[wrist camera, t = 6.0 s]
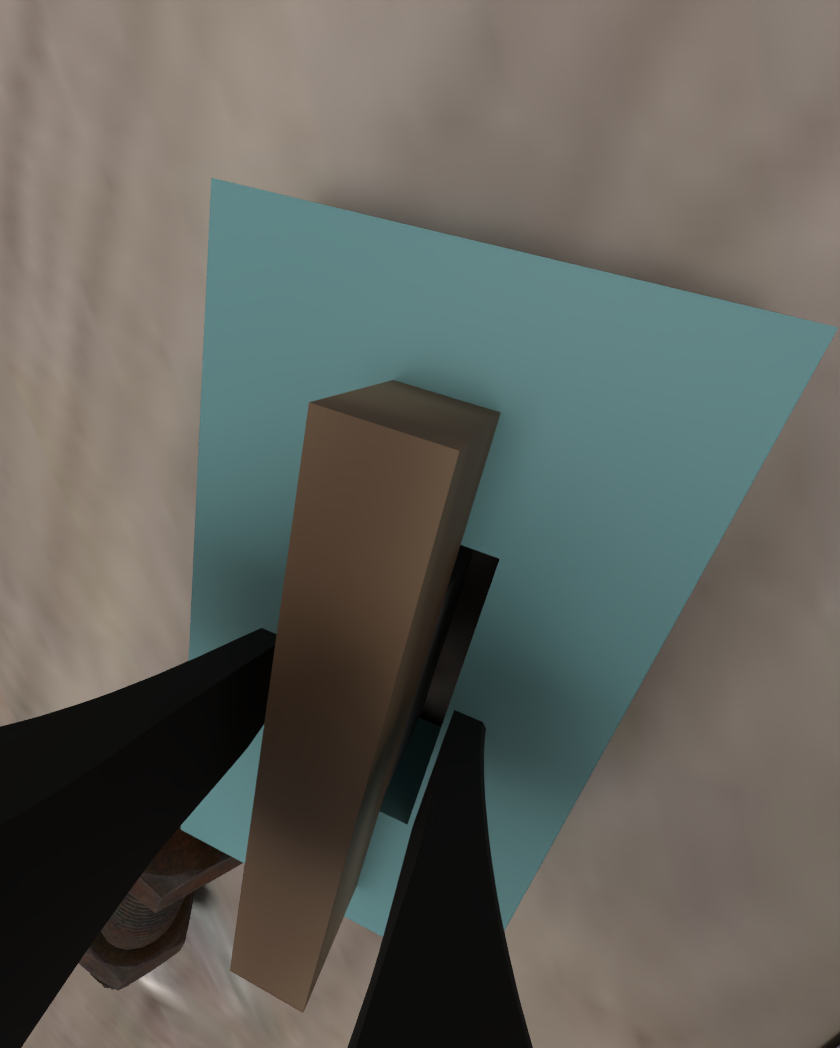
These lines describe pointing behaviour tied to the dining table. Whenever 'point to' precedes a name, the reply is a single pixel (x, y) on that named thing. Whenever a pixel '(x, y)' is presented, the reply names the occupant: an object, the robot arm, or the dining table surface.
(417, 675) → the long brown beam
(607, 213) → the dining table surface
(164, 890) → the bolt
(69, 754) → the robot arm
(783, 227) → the dining table surface
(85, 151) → the dining table surface
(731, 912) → the dining table surface
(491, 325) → the post block
